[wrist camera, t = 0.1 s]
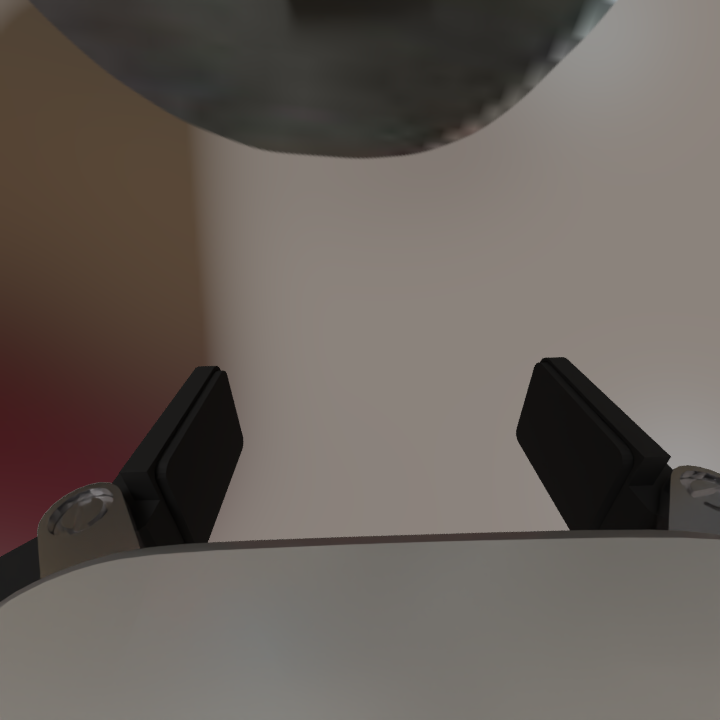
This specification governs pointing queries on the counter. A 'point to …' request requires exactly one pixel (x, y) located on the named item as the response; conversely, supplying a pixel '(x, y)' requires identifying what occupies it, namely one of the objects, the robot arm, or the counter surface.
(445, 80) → the counter surface
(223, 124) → the counter surface
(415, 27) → the counter surface
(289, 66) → the counter surface
